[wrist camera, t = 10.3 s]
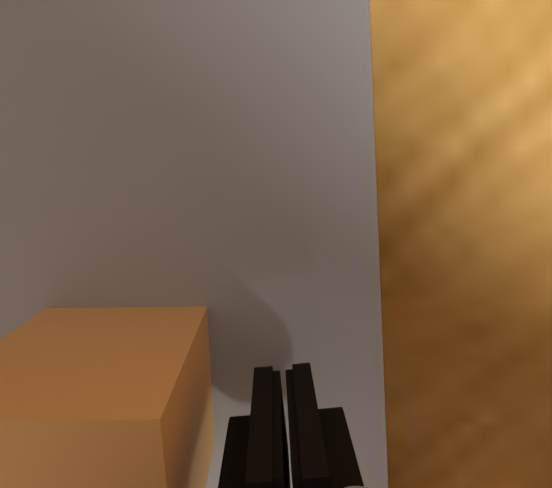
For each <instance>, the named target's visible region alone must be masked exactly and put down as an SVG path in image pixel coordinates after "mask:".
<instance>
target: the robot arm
mask: <svg viewBox="0 0 552 488" xmlns="http://www.w3.org/2000/svg"><path fill="white" fill-rule="evenodd" d="M285 373H286V390H287V407H288V423H289V440H290V457H291V473H292V485H293V488H368V487H364V484H363V480H362V477H361V473H360V469H359V466H358V462H357V458H356V455H355V451H354V447H353V444H352V440H351V436H350V433H349V429H348V425H347V421H346V418H345V414H344V411H343V408H342V407H334V408H323V409H318V405H317V400H316V394H315V388H314V383H313V377H312V371H311V366H310V363H299V364H292V369H289V370H285ZM218 488H290V470H289V453H288V442H287V433H286V423H285V414H284V404H283V395H282V385H281V376H280V370H278V371H273V367H272V366H266V367H255V368H254V375H253V387H252V400H251V412H250V415H244V416H233V417H230V418H229V422H228V427H227V434H226V440H225V446H224V452H223V459H222V465H221V471H220V477H219V484H218Z"/></svg>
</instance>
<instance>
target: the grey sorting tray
mask: <svg viewBox="0 0 552 488" xmlns="http://www.w3.org/2000/svg"><path fill="white" fill-rule="evenodd" d="M193 306H207V310H208V328H209V345H210V363H211V381H212V399H213V416H214V434H215V443H214V448H213V453H212V458H211V463H210V468H209V473H208V478H207V483H206V488H218V484H219V477H220V471H221V465H222V459H223V452H224V446H225V440H226V434H227V427H228V422H229V418H230V417H233V416H244V415H250V412H251V400H252V387H253V375H254V368H255V367H266V366H272V367H273V371H278V370H280V376H281V385H282V395H283V404H284V414H285V423H286V433H287V442H288V453H289V470H290V488H293V485H292V473H291V457H290V440H289V423H288V407H287V390H286V373H285V370H289V369H292V364H299V363H310V366H311V371H312V377H313V383H314V388H315V394H316V400H317V405H318V409H323V408H334V407H342V408H343V411H344V414H345V418H346V421H347V425H348V429H349V433H350V436H351V440H352V444H353V447H354V451H355V455H356V458H357V462H358V466H359V469H360V473H361V477H362V480H363V484H364V487H368V488H388V466H387V441H386V415H385V389H384V363H383V338H382V312H381V286H380V260H379V235H378V209H377V183H376V157H375V131H374V106H373V80H372V54H371V28H370V3H369V0H0V340H1V339H2V338H4V337H5V336H7V335H8V334H10V333H11V332H12V331H14V330H15V329H17V328H18V327H20V326H21V325H22V324H24V323H25V322H27V321H28V320H30V319H31V318H32V317H34V316H35V315H37V314H38V313H40V312H41V311H42V310H44V309H45V308H86V307H193Z"/></svg>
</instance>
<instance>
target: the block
mask: <svg viewBox="0 0 552 488" xmlns="http://www.w3.org/2000/svg"><path fill="white" fill-rule="evenodd" d="M214 443H215V434H214V416H213V399H212V381H211V363H210V345H209V328H208V310H207V306H193V307H86V308H45V309H44V310H42V311H41V312H40V313H38V314H37V315H35V316H34V317H32V318H31V319H30V320H28V321H27V322H25V323H24V324H22V325H21V326H20V327H18V328H17V329H15V330H14V331H12V332H11V333H10V334H8V335H7V336H5V337H4V338H2V339H1V340H0V488H206V483H207V478H208V473H209V468H210V463H211V458H212V453H213V448H214Z"/></svg>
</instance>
